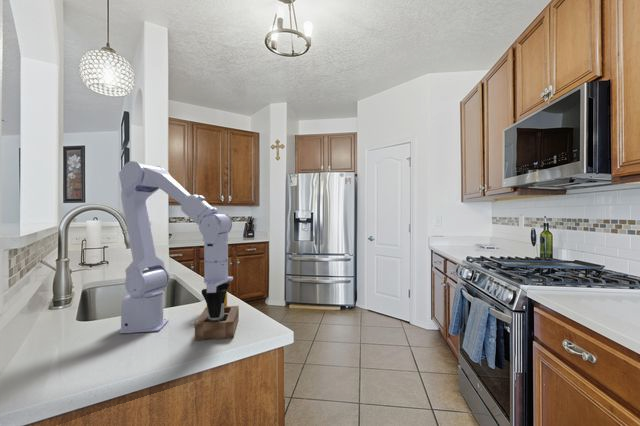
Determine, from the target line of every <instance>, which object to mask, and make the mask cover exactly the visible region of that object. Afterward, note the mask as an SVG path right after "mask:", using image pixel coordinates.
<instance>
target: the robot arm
mask: <svg viewBox="0 0 640 426" xmlns="http://www.w3.org/2000/svg"><path fill="white" fill-rule="evenodd" d="M118 176H119V181H120V187H121V192H120V193H121V194H120V198H121V199H120V200H121V203H122V210H123V214H124V220H125V225H126V231H127V236H128V240H129V245H130V246H129V247H130V252H131V256H132V257H131V258H132V261H131V262H130V264H129V265H128V266H127V267H126V268H125V270H124V271H125V280H124V288H125V290H126V292H127V293H128V295H125V296H124V297H123V298H122V303H121V306H120V331H119V334H133V333H146V332H147V333H149V332H150V333H151V332H158V331H159V332H160V331H161V330H162V328H163V327H165V325H166V324H168V322H169V319H168V318H164V292H165V291H166V290H165V289H166V287H167V286H168V285H169V282H170V274H169V271H168V270H167V268H166V266H165V262H164V260H162V259H161V258H159V257H158V256H157V254H156V249H155V244H154V239H153V238H154V237H153V233H152V228H151V224H150V218H149V212H148V208H147V200H148V199H149V197H151V196H152V195H153V194H155V193H156V192H157V191H159V190H162V192H164V193H166V195H168V196H169V197H171V198H172V199H173V200H175V201H176V202H177V203H179V204H180V209H181V210H180V211H181V212H182V213H183V214H184V215H186V216H187V217H188V218H189V219H190V220H192V221H193V222H194V223H195V224H196V225H198V228H199V232H200V234H201V235H202V237H203V238H202V242H203V243H204V245H203V248H204V251H203V252H204V253H203V254H204V256H203V257H204V259H203V260H204V265H203V266H204V267H203V269H204V274H203V275H204V278H203V283H204V284H205V286H206V288H203V289H202V290H201V296H202V297H203V299H204V300H205V303H206V307H208V311H209V315H210V318H219V316H220V312H221V305H222V303H224V301H225V295H226V292H227V293H228V288H229V286H230V284H231V282H232V281H233V280H234V276H229V233H230V232H231V230H232V228H233V222H232V218H231V217H230V216H229V215H228V213H225V212H219V210H218V208H217V207H214V206H212V205H210V203H209V202H207V200H205V199H206V197H204V195H200V194H199V195H198V194H190V193H189V192H188V190H186V189H185V188H184V187H183V186H182V185H181V184H180V183H179V182H178V181H177V180H175V178H173V177H172V176H171V174H170V172H168V171H167V170H166V169H164V167H162V166H159V165H150V164H146V163H141V162H138V161H135V160H134V161H133V160H132V161H128V162H126V163H125V164H124V165H123V167H122V168H121V169H120V171H119V173H118Z"/></svg>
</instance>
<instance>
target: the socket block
mask: <svg viewBox="0 0 640 426" xmlns="http://www.w3.org/2000/svg"><path fill="white" fill-rule="evenodd" d="M239 309H240V308H239V305H229V306H228V305H227V306H225V307H224V321H216V322H208V320H207V306H206V307H205V308H204V309H203V312H201V314H200V316H198V319H197V320H196V321H195V323H194V340H195V341H196V342H197V341H206V340H207V341H208V340H210V341H211V340H224V339H234V338H235V334H236V330H237V327H238V323H239V314H240V312H239Z"/></svg>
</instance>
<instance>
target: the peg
mask: <svg viewBox="0 0 640 426" xmlns="http://www.w3.org/2000/svg"><path fill="white" fill-rule="evenodd" d="M206 307H207V306H206ZM207 320H208V322H216V321H224V303H222V305H221V312H220V316H219V318H210V315H209V311H208V307H207Z"/></svg>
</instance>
